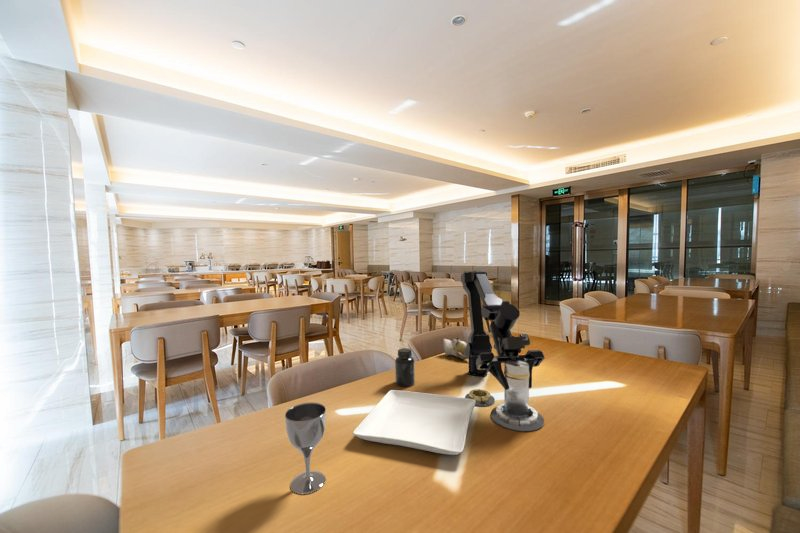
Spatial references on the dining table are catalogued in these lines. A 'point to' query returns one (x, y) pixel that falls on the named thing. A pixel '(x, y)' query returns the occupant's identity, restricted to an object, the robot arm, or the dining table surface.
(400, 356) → the supplement bottle
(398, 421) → the square plate
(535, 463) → the dining table surface
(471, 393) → the brass collar
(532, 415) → the collar
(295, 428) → the wine glass
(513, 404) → the cylinder
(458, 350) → the ceramic sculpture
